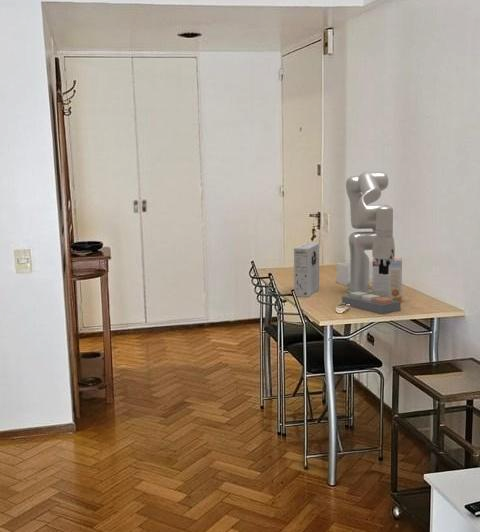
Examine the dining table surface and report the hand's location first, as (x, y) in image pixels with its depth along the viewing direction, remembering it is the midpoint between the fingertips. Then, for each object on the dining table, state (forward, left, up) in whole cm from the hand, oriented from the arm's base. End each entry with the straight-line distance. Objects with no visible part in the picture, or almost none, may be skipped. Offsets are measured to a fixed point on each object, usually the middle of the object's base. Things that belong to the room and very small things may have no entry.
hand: (383, 273), depth 316 cm
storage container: (-56, +41, -18) cm, 72 cm away
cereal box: (-53, -1, -17) cm, 56 cm away
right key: (0, 0, -14) cm, 14 cm away
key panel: (-8, 0, -17) cm, 19 cm away
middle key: (-8, 0, -14) cm, 16 cm away
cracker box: (-13, +16, -17) cm, 27 cm away
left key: (-16, 0, -14) cm, 21 cm away
